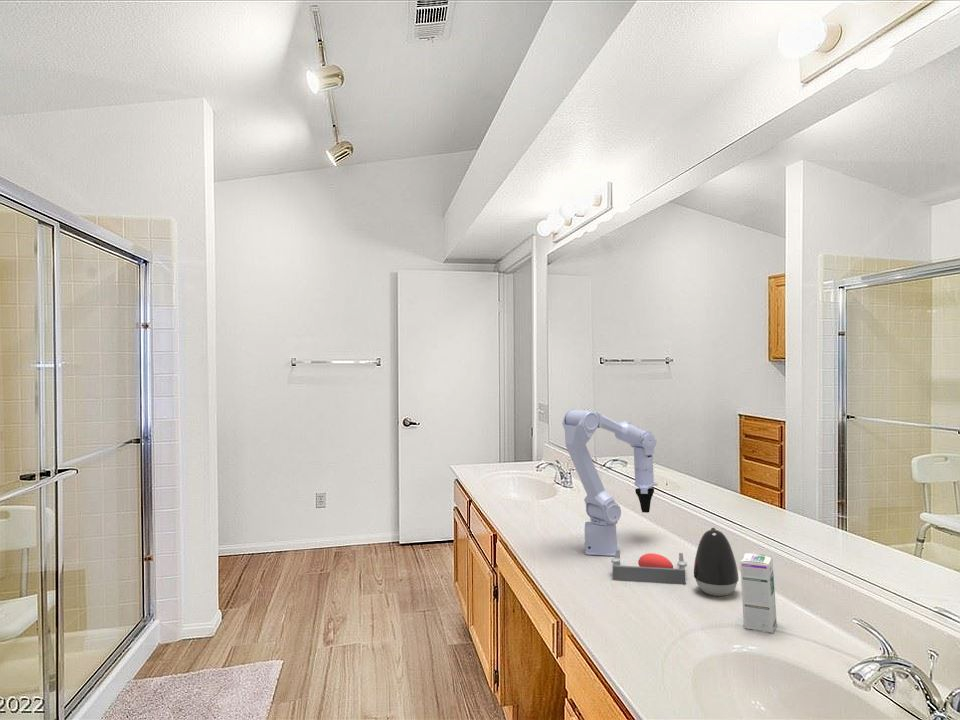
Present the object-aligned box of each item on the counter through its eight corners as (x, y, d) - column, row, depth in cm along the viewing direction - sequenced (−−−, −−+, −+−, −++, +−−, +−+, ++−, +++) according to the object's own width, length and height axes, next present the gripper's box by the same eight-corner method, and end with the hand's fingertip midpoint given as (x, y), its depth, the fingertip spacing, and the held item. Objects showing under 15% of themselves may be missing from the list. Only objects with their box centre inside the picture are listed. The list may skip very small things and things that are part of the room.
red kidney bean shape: (658, 584, 158) (670, 562, 157) (631, 564, 164) (642, 543, 164) (667, 585, 161) (678, 564, 161) (640, 565, 168) (650, 545, 167)
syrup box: (773, 634, 124) (770, 563, 124) (742, 628, 127) (739, 559, 127) (776, 623, 129) (773, 555, 129) (746, 618, 132) (743, 551, 132)
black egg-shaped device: (737, 586, 150) (734, 525, 150) (741, 602, 140) (738, 537, 141) (694, 582, 154) (691, 523, 154) (694, 598, 144) (691, 534, 144)
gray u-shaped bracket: (610, 579, 158) (609, 564, 158) (614, 562, 171) (613, 547, 172) (688, 584, 153) (687, 568, 153) (685, 566, 166) (685, 551, 166)
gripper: (657, 473, 181) (659, 518, 181) (657, 464, 195) (658, 506, 195) (632, 472, 183) (634, 517, 183) (634, 464, 197) (636, 506, 197)
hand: (645, 512), depth 189 cm, fingers closed
